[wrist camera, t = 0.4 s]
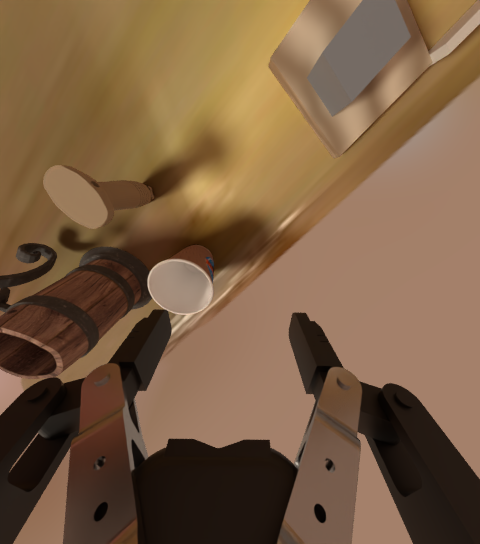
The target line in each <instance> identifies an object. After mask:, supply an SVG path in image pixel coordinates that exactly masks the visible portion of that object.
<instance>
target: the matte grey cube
mask: <svg viewBox="0 0 480 544" xmlns="http://www.w3.org/2000/svg"><path fill="white" fill-rule="evenodd" d="M410 37H411V36H410V33H409V31H408V29H407V26H406V24H405V22H404V19H403V17H402V15H401V12H400V10H399V8H398V5H397V3H396V1H395V0H362V2H361V3H360V4H359V5H358V7H357V8H356V9H355V11H354V12H353V13H352V15H351V16H350V17H349V18H348V20H347V21H346V22H345V24H344V25H343V26H342V28H341V29H340V30H339V31H338V33H337V34H336V35H335V37H334V38H333V39H332V40H331V42H330V43H329V44H328V46H327V47H326V48H325V50H324V51H323V52H322V54H321V55H320V57H319V59H318V60H317V62H316V64H315V65H314V67H313V68H312V70H311V72H310V73H309V75H308V77H307V79H308V81H309V82H310V84H311V85H312V87H313V88H314V90H315V91H316V93H317V94H318V96H319V97H320V99H321V100H322V102H323V103H324V105H325V107H326V108H327V110H328V111H329V113H330V114H331V116H332V117H333V116H334V115H335V114H337V113H338V112H339V111H341V110H342V109H343V108H345V107H346V106H347V105H349V104H350V103H351V102H352V101H353V100H354V99H355V98H356V97H357V96H358V95H359V94H360V93H361V91H362V90H363V89H364V88H365V87H366V86H367V85H368V84H369V83H370V82H371V80H372V79H373V78H374V77H375V76H376V75H377V74H378V73H379V72H380V71H381V69H382V68H383V67H384V66H385V65H386V64H387V63H388V62H389V61H390V59H391V58H392V57H393V56H394V55H395V54H396V53H397V52H398V51H399V50H400V48H401V47H402V46H403V45H404V44H405V43H406V42H407V41H408V40H409V39H410Z"/></svg>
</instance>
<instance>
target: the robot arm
mask: <svg viewBox="0 0 480 544" xmlns="http://www.w3.org/2000/svg"><path fill="white" fill-rule="evenodd" d="M171 330H172V329H171V323H170V319H169V314H168V311H167V310H156V309H155V310H153V311H152V312H151V314H150V315H149V317H148V318H143V319H142V320H141V321H139V322H138V323H137V324H136V325H135V327H134V328H133V329H132V331H131V332H130V333H129V335H128V336H127V338H126V339H125V340H124V342H123V343H122V344H121V346H120V347H119V349H118V350H117V351H116V353H115V354H114V355H113V357H112V358H111V360H110V361H109V362H108V363H107V364H104V365H102V366H100V367H98V368H96V369H94V370H93V371H92V372H91V373H90V374H89V375H88V376H87V377H86V378H82V379H79V380H75V381H71V382H67V383H64V384H63V383H62V381H61V380H60V379H59V378H55V377H53V378H47V379H44V380H42V381H39V382H37V383H36V384H34V385H32V386H31V387H29V388H28V389H26V390H25V391H24V392H23V393H22V394H21V395H20V396H19V397H18V398H17V399H16V400H15V401H14V402H13V403H12V404H11V405H10V406H9V407H8V408H7V409H6V410H5V411H4V412H3V413H2V414H1V415H0V544H13V542H14V541H15V539H16V537H17V536H18V534H19V532H20V530H21V529H22V527H23V525H24V524H25V522H26V521H27V519H28V517H29V515H30V514H31V512H32V510H33V509H34V507H35V505H36V504H37V502H38V500H39V499H40V497H41V495H42V494H43V492H44V490H45V489H46V487H47V485H48V484H49V482H50V480H51V479H52V477H53V475H54V473H55V472H56V470H57V468H58V467H59V465H60V463H61V462H62V460H63V458H64V457H65V455H66V453H67V452H68V450H69V448H70V460H69V473H68V486H67V499H66V512H65V525H64V539H63V544H351V543H352V533H353V522H354V512H355V502H356V492H357V481H358V471H359V461H360V450H361V443H360V440H359V439H358V438H357V432H359V433H361V434H364V435H365V437H366V439H367V441H368V443H369V445H370V448H371V450H372V452H373V454H374V457H375V459H376V461H377V464H378V466H379V468H380V470H381V473H382V475H383V477H384V479H385V481H386V483H387V486H388V488H389V491H390V493H391V495H392V497H393V500H394V502H395V504H396V506H397V508H398V511H399V513H400V515H401V517H402V520H403V522H404V524H405V526H406V529H407V531H408V533H409V535H410V538H411V540H412V542H413V544H480V479H479V478H478V477H477V475H476V474H475V473H474V471H473V470H472V469H471V467H470V466H469V465H468V463H467V462H466V461H465V459H464V458H463V457H462V456H461V454H460V453H459V452H458V450H457V449H456V448H455V447H454V445H453V444H452V443H451V441H450V440H449V439H448V437H447V436H446V435H445V433H444V432H443V431H442V429H441V428H440V427H439V426H438V424H437V423H436V422H435V420H434V419H433V418H432V416H431V415H430V414H429V412H428V411H427V410H426V408H425V407H424V406H423V405H422V403H421V402H420V401H419V400H418V399H417V397H416V396H414V395H413V394H412V393H411V392H409V391H408V390H407V389H405V388H403V387H401V386H399V385H396V384H392V383H389V384H386V385H384V387H383V388H382V389H381V388H378V387H375V386H372V385H368V384H365V383H363V382H360V381H359V380H358V379H357V378H356V376H355V375H353V374H352V373H351V372H350V371H348V370H346V369H344V368H343V366H342V364H341V362H340V361H339V359H338V357H337V355H336V353H335V352H334V350H333V348H332V346H331V344H330V343H329V341H328V339H327V337H326V336H325V333H324V332H323V330H322V328H321V327H320V326H319V325H318V324H317V323H316V322H315V321H310V320H309V318H308V316H307V314H306V313H293V314H292V318H291V323H290V327H289V339H290V343H291V346H292V349H293V352H294V356H295V359H296V362H297V365H298V368H299V372H300V375H301V378H302V381H303V384H304V388H305V391H306V394H314V397H315V400H316V401H315V404H314V407H313V410H312V413H311V416H310V419H309V422H308V425H307V428H306V431H305V434H304V437H303V440H302V443H301V445H300V448H299V451H298V453H297V457H296V459H295V462H294V464H293V463H292V462H291V461H290V460H288V459H287V458H286V457H285V456H284V455H282V454H281V453H280V452H278V451H276V450H274V449H272V448H270V440H242V441H240V442H237V443H234V444H231V445H228V446H225V447H222V448H215V447H212V446H210V445H207V444H205V443H202V442H200V441H197V440H195V439H169V440H168V444H167V447H166V448H163V449H161V450H159V451H157V452H156V453H154V454H153V455H151V456H150V457H148V454H147V450H146V447H145V443H144V440H143V437H142V433H141V427H140V423H139V417H138V412H137V407H136V402H135V396H136V394H137V392H138V391H146V390H147V387H148V385H149V383H150V381H151V379H152V376H153V374H154V372H155V369H156V367H157V365H158V363H159V361H160V359H161V356H162V354H163V352H164V350H165V347H166V345H167V343H168V341H169V339H170V336H171ZM37 433H39V434H38V435H37V436H36V438H35V439H34V441H33V442H32V443H31V444H30V446H29V447H28V448H27V450H26V451H25V452H24V454H23V455H22V456H21V458H20V459H19V461H18V462H17V463H16V464H15V466H14V467H13V468H12V466H13V464H14V463H15V462H16V460H17V459H18V458H19V456H20V455H21V454H22V452H23V451H24V450H25V448H26V447H27V446H28V445H29V443H30V442H31V441H32V439H33V438H34V437H35V435H36V434H37ZM78 433H79V434H78ZM11 468H12V470H11V471H10V469H11ZM9 471H10V472H9Z"/></svg>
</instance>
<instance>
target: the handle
mask: <svg viewBox="0 0 480 544" xmlns="http://www.w3.org/2000/svg"><path fill="white" fill-rule="evenodd" d="M43 184H44V188H45V189H46V191H47V193H48V194H49V196H50V197H51V199H52V200H53V202H54V203H55V204H56V206H57V207H58V208H59V209H60V210H61V211H63V212H64V213H65V214H66V215H67V216H68V217H69V218H71V219H72V220H73V221H75V222H77V223H79V224H81V225H83V226H85V227H88V228H90V229H95V228H99V227H102V226H104V225H106V224H108V223H109V222H110V221H111V220H112V218H113V216H114V210H122V209H133V208H137V207H141V206H143V205H145V204H148V203H150V201H151V200H152V199H154V195H153V193H152V188H151V187H150V186H146V185H144V184H143V183H139V182H135V181H110V182H97V181H96V180H94V179H93V178H91V177H90V176H88V175H86V174H84V173H83V172H81V171H79V170H77V169H75V168H72V167H70V166H64V165H56V166H52V167H51V168H49V169H48V170H47V172H46V173H45V175H44V179H43Z"/></svg>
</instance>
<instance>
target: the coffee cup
mask: <svg viewBox="0 0 480 544" xmlns="http://www.w3.org/2000/svg"><path fill="white" fill-rule="evenodd" d="M152 273H153V274H152ZM213 273H214V260H213V256H212V254H211V252H210V251H209V250H208V249H207V248H205V247H203V246H200V245H192V246H188V247H186V248H184V249H183V250H181V251H180V252H178V253H177V254H175V255H174V256H172V257H170V258H169V259H167V260H164V261H162V262H160V263H158V264H157V265H155V266H154V267H153V268H152V270H151V271H150V273H149V276H148V289H149V292H150V294H151V296H152V298H153V299H154V300H155V301H156V303H157V304H159V305H160V306H161V307H163V308H164V309H166V310H168V311H170V312H173V313H176V314H182V315H189V314H195V313H198V312H200V311H202V310H203V309H205V308H206V307H207V306H208V305H209V304H210V302H211V300H212V298H213V294H214V288H213ZM210 295H211V296H210Z"/></svg>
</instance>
